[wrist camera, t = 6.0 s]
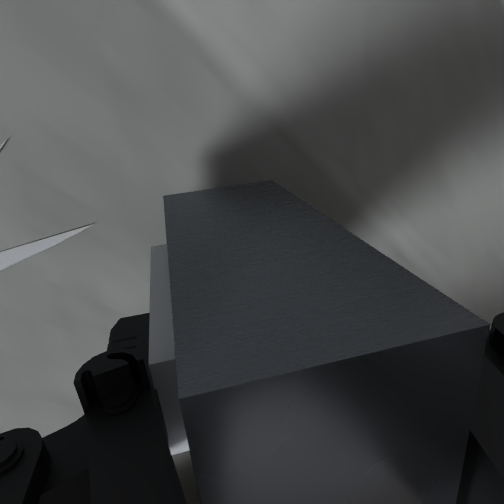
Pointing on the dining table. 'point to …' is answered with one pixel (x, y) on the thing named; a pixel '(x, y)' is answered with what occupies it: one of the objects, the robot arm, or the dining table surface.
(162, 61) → the dining table surface
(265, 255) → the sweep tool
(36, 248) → the scissors
